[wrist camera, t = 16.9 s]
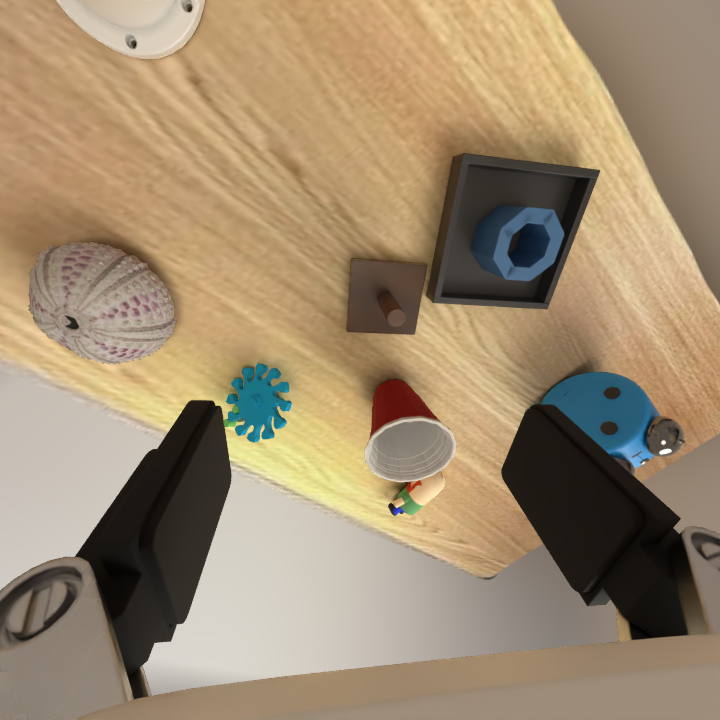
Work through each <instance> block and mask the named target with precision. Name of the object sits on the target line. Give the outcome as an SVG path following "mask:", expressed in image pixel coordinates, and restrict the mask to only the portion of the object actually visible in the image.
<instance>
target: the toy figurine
mask: <svg viewBox="0 0 720 720" xmlns="http://www.w3.org/2000/svg"><path fill="white" fill-rule="evenodd" d="M444 485H445V478H444V475H443V474H442V472H441V471H439V472H437V473H436V474H434V475H433V476H430V477H427V478H424V479H421V480H418V481H411V482H409V483H408V484H407V487H405V488H404V489H403V490H402V491H401V492H400V493H399V494H398V495H397V500H395V501H393V502H394V505H395V506H394V505H393V504H392V503H390V504H389V505H388V507H389V509H390V511H391V513H392V514H393V515H394V516H396V515H397V514H398V513H400V514H403V513H404V512H405V513H407V514H409V515H413V514H415V513H416V512H417V511H418V510H419V509H420V508H422V507H423V506H424V505H425V504H426V503H427V502H429V501H430V500H431V499H432V498H433V497H434V496H436V495H437V494H438V493H439V492H440V491H441V490H442V489H443V488H444Z"/></svg>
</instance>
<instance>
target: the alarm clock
mask: <svg viewBox="0 0 720 720" xmlns="http://www.w3.org/2000/svg"><path fill="white" fill-rule="evenodd" d="M541 404H551V405H555V406H556V407H557V408H559V409H560V410H561V411H562V412H563V413H564V414H565V415H566V416H567V417H569V418H570V419H571V420H572V421H573V422H574V423H575V424H576V425H577V426H579V427H580V428H581V429H582V430H583V431H584V432H585V433H586V434H587V435H589V436H590V437H591V438H592V439H593V440H594V441H595V442H596V443H597V444H599V445H600V446H601V447H602V448H603V449H604V450H605V451H606V452H607V453H609V454H610V455H611V456H612V457H613V458H614V459H615V460H616V461H617V462H619V463H620V464H621V465H622V466H623V467H624V468H625V469H626V470H627V471H629V472H630V473H631V474H632V475H633V476H634V474H635V468H637V467H639V466H641V465H643V464H645V463H646V462H648V461H649V460H650V459H651V458H652V457H653V456H654V455H655V456H659V457H666V456H670V455H673V454H675V453H676V452H677V451H679V450H680V448H681V447H682V445H683V443H685V441H684V433H683V430H682V428H681V426H680V425H679V424H678V423H677V422H676V421H675V420H673V419H671V418H669V417H666V416H660V414H659V413H658V411H657V410H656V408H655V407H654V405H653V404H652V402H651V401H650V399H649V398H648V396H647V395H646V393H645V392H644V391H643V390H642V389H641V387H640V386H638V385H637V384H636V383H635V382H633V381H632V380H630V379H628V378H626V377H623V376H621V375H618V374H613V373H608V372H589V373H583V374H579V375H576V376H573V377H570V378H568V379H566V380H564V381H562V382H560V383H559V384H557V385H556V386H555V387H553V388H552V389H551V390H550V391H549V392H548V393H547V395H546V396H545V397H544V399H543V401H542V403H541Z"/></svg>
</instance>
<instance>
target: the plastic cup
mask: <svg viewBox="0 0 720 720" xmlns="http://www.w3.org/2000/svg"><path fill="white" fill-rule="evenodd" d="M455 449H456V440H455V438H454V436H453V433H452V431H451V430H450V429H449V428H448V427H446V426H445V425H444V424H442V423H441V422H440V421H439V420H438V418H437V417H436V416H435V415H434V414H433V413H432V412H431V411H430V409H429V408H428V407H427V406H426V404H425V403H424V402H423V401H422V399H421V398H420V397H419V396H418V395H417V394H416V393H415V392H414V391H413V389H412V388H411V387H410V386H409V385H408V384H406V383H405V382H404V381H401V380H397V379H394V380H388V381H386V382H383V383H381V384H380V385H379V386H378V387H377V389H376V391H375V393H374V396H373V407H372V427H371V434H370V438H369V442H368V444H367V445H366V448H365V462H366V464H367V465H368V467H369V468H370V469H371V471H372V472H373V473H374V474H376V475H378V476H380V477H381V478H383V479H385V480H390V481H396V482H411V481H418V480H421V479H424V478H427V477H430V476H433V475H434V474H436V473H437V472H439V471H440V470H442V469H443V468H445V467H446V466H447V465H448V463H449V462H450V461H451V459H452V458H453V457H454V455H455Z"/></svg>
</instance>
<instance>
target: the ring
mask: <svg viewBox="0 0 720 720" xmlns="http://www.w3.org/2000/svg"><path fill="white" fill-rule="evenodd" d="M518 230H519V231H520V233H521V234H520V237H519V240H518V244H517V247H516V249H515V250H514V251H513V252H511V253H510V254H509V255H507V251H508V248H509V244H510V241H511V238H512V235H513V234H514V233H516V232H517V231H518ZM563 237H564V231H563V229H562V227H561V225H560V222H559V220H558V218H557V216H556V213H555V211H554V210H553V209H543V208H533V207H518V206H498V207H497V208H496V209H495V210H493V211H492V212H491V213H490V214H489V215H487V216H486V217H485V218H484V219H483V220H481V221H480V222H479V223H478V224H477V226H476V231H475V235H474V239H473V243H472V247H471V252H472V253H473V255H474V257H475V258H476V260H477V261H478V263H479V265H480V266H481V268H482V269H483V270H486V271H488V272H490V273H492V274H495V275H497V276H499V277H501V278H503V279H507V280H522V281H530V280H532V279H533V278H534V277H536V276H537V275H539V274H540V273H541V272H543V271H544V270H545V269H547V268H548V267H549V266H551V265H552V264H553V263H554V261H555V259H556V256H557V253H558V250H559V248H560V245H561V242H562V239H563Z"/></svg>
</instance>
